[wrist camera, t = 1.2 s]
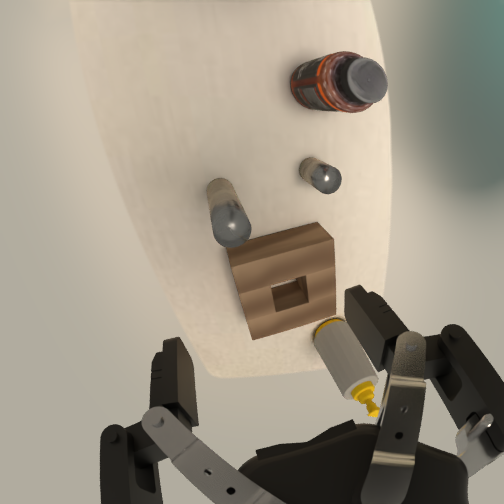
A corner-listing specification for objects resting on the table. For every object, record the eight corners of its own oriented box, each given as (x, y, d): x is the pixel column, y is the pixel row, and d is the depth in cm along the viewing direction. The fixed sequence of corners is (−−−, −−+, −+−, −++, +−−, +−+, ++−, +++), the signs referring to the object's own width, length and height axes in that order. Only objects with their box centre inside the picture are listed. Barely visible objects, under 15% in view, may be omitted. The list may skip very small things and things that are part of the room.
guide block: (225, 246, 35) (230, 267, 31) (317, 221, 36) (333, 238, 32) (245, 316, 41) (252, 340, 37) (322, 293, 42) (336, 314, 38)
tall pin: (203, 182, 31) (208, 218, 21) (230, 175, 31) (247, 208, 22) (210, 206, 32) (218, 251, 23) (235, 199, 33) (254, 242, 23)
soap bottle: (326, 349, 49) (366, 429, 34) (303, 336, 46) (343, 426, 31) (354, 324, 47) (403, 402, 32) (333, 309, 44) (386, 396, 29)
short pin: (297, 160, 32) (314, 169, 27) (320, 155, 32) (340, 164, 28) (301, 183, 33) (317, 196, 29) (323, 179, 33) (342, 190, 29)
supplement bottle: (326, 118, 30) (383, 128, 20) (281, 97, 28) (324, 93, 18) (344, 76, 27) (405, 72, 18) (300, 53, 25) (350, 33, 16)
